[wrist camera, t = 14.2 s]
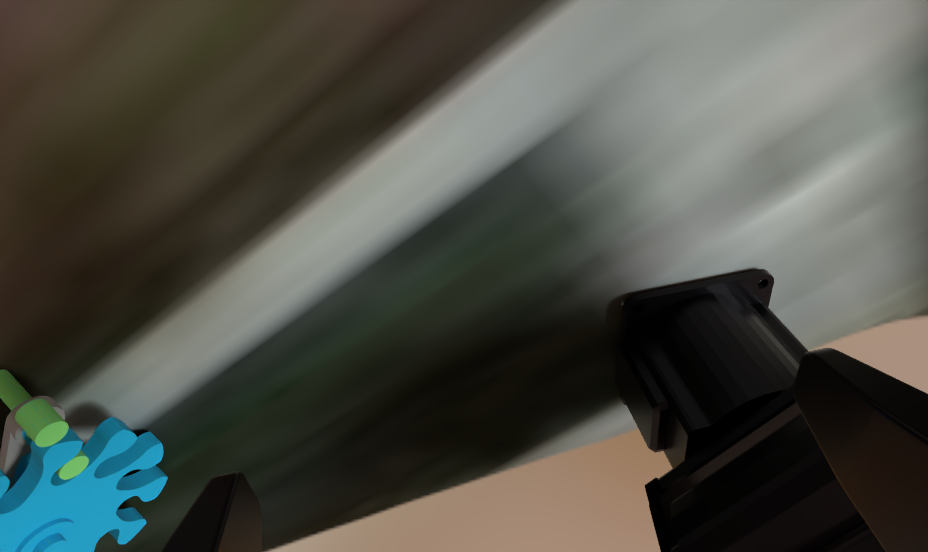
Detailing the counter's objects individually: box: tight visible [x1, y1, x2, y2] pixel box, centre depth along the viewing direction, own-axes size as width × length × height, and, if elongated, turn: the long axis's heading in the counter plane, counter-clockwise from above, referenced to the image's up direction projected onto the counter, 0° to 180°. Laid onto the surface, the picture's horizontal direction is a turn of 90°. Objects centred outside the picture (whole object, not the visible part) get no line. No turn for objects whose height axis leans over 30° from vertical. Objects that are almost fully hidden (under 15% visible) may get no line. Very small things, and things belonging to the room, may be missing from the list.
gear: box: [0, 369, 168, 552], centre depth 23 cm, size 11×6×10 cm
